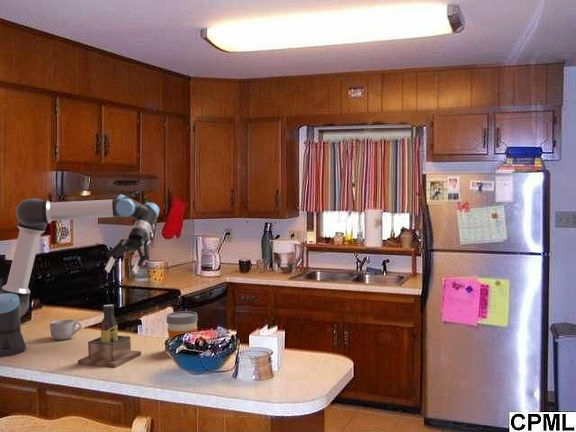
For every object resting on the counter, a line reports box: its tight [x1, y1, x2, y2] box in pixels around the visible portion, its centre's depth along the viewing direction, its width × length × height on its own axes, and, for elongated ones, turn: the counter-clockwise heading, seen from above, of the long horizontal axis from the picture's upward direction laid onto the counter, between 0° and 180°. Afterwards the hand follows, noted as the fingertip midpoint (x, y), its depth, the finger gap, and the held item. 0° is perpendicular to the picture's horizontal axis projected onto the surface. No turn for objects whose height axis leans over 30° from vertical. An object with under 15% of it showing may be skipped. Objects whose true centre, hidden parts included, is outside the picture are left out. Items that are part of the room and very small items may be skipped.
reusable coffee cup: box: [166, 310, 199, 339], centre depth 252 cm, size 13×13×15 cm
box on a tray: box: [77, 335, 142, 368], centre depth 242 cm, size 17×17×8 cm
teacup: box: [49, 318, 83, 341], centre depth 278 cm, size 14×11×8 cm
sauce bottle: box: [100, 304, 119, 343], centre depth 242 cm, size 6×6×20 cm
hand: (120, 271), depth 260 cm, fingers open, 13 cm apart
